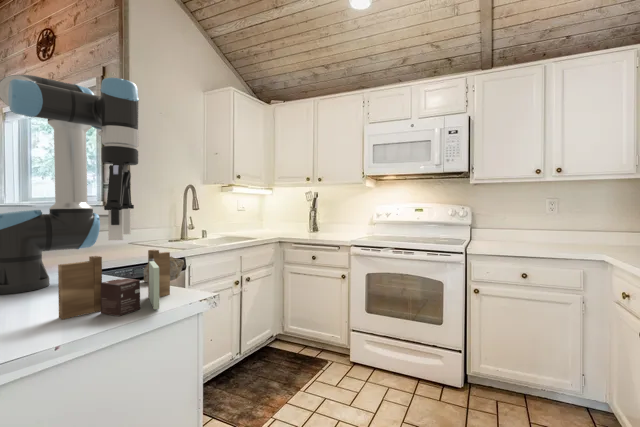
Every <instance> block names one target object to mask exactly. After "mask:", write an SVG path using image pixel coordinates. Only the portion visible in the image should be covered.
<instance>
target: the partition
mask: <svg viewBox="0 0 640 427" xmlns="http://www.w3.org/2000/svg"><path fill="white" fill-rule="evenodd" d="M170 254H171V253H170V252H169V251H164V252H163V251H161V252H160V249H148V250H147V257H148V258H147V265H148V282H147V283H148V284H147V286H148V287H147V288H148V289H147V290H148V291H147V292H148V293H147V295H148V298H149V259H154V262H155V263H156V264H157V265H158V267H159V298H160V297H161V298H162V297H165V296H169V295H171V281H170V257H171V255H170ZM102 258H103V257H102V256H99V255H93V256H92V255H91V256H88V260H86V261H79V262H78V261H77V262H70V263H61V264H58V265H57V275H58V276H57V277H58V278H57V282H58V286H57V287H58V318H59V319H60V318H61V319H60V320H67V319H70V317H71V318H74V316H75V317H79V316H78V315H80V316H84V315H88V314H92V312H93V313H97V312H98V313H99V312H101V283H102V282H103V269H102V268H103V262H102V261H103V260H102ZM83 314H84V315H83ZM66 318H67V319H66Z"/></svg>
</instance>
